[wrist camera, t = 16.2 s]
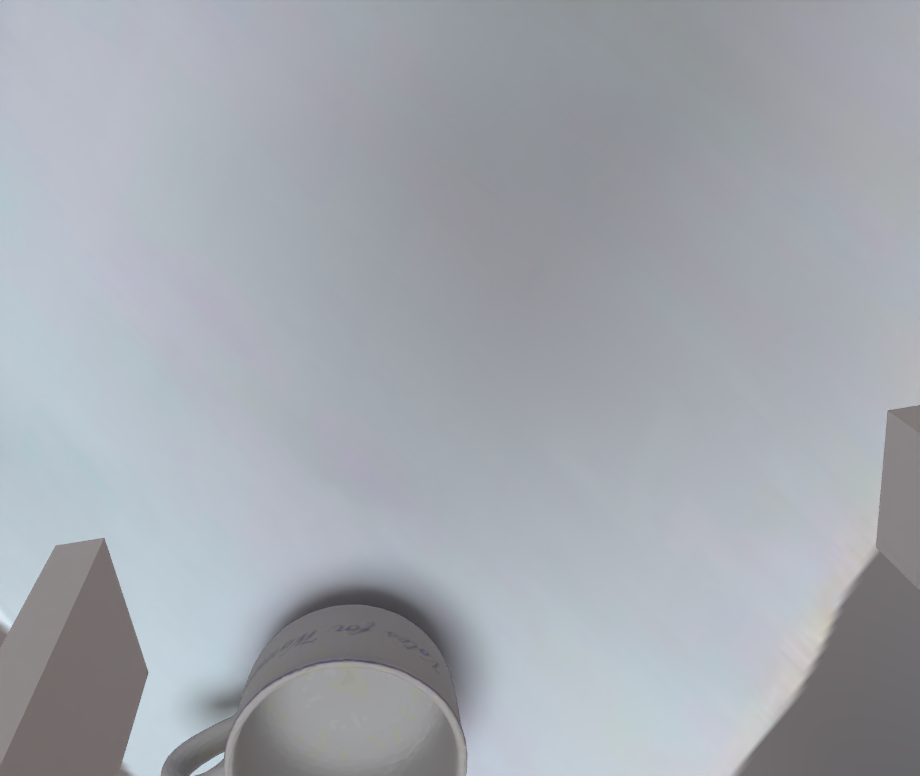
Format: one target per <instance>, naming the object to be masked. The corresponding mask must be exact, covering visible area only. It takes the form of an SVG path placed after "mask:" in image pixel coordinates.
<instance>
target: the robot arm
mask: <svg viewBox="0 0 920 776" xmlns="http://www.w3.org/2000/svg"><path fill="white" fill-rule="evenodd" d="M876 547H877V548H878V549H879V550H880V551H881V552H882V553H883V554H884V555H885V556H886V557H887V558H888V559H889V560H890V561H891V562H892V563H893V564H894V565H895V566H896V567H897V568H898V569H899V570H900V571H901V572H902V573H903V574H904V575H905V576H906V577H907V578H908V579H909V580H910V581H911V582H912V583H913V584H914V585H915V586H916V587H917V588H918V589H919V590H920V405H919V406H913V407H907V408H900V409H894V410H888V414H887V425H886V437H885V448H884V460H883V471H882V483H881V494H880V506H879V517H878V529H877V540H876ZM147 676H148V670H147V667H146V664H145V661H144V658H143V655H142V651H141V648H140V645H139V642H138V639H137V636H136V633H135V630H134V627H133V624H132V621H131V618H130V615H129V612H128V609H127V606H126V603H125V600H124V597H123V594H122V590H121V587H120V584H119V581H118V578H117V575H116V572H115V569H114V566H113V563H112V560H111V557H110V554H109V551H108V548H107V545H106V542H105V539H104V538H101V539H94V540H88V541H82V542H76V543H70V544H64V545H58V546H55V548H54V550H53V552H52V553H51V555H50V557H49V559H48V561H47V563H46V564H45V566H44V568H43V570H42V572H41V574H40V576H39V577H38V579H37V581H36V583H35V585H34V587H33V588H32V590H31V592H30V594H29V596H28V598H27V600H26V601H25V603H24V605H23V607H22V609H21V611H20V612H19V614H18V616H17V618H16V620H15V622H14V624H13V625H12V627H11V629H10V631H9V633H8V635H7V637H6V639H5V640H4V642H3V644H2V646H1V648H0V776H118V774H119V770H120V767H121V763H122V760H123V757H124V753H125V750H126V747H127V743H128V740H129V736H130V733H131V730H132V726H133V723H134V720H135V716H136V713H137V709H138V706H139V703H140V699H141V696H142V693H143V689H144V686H145V682H146V679H147Z"/></svg>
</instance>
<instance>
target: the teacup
mask: <svg viewBox="0 0 920 776" xmlns="http://www.w3.org/2000/svg"><path fill="white" fill-rule="evenodd" d="M223 752H225V754H224V759H223V760H222V761H221V762H220V763H218V764H217V765H216V766H215V767H213V768H211V769H210V770H208V771H207V772H205V773H202V774H200V775H196V776H466V772H467V749H466V741H465V737H464V733H463V730H462V727H461V724H460V716H459V710H458V704H457V698H456V693H455V689H454V685H453V681H452V677H451V674H450V671H449V669H448V666H447V664H446V662H445V660H444V658H443V656H442V654H441V652H440V651H439V649H438V648H437V646H436V645H435V644H434V643H433V641H432V640H431V639H430V637H429V636H428V635H427V634H426V633H424V632H423V631H422V630H421V629H420V628H419V627H418V626H416V625H415V624H413V623H412V622H411V621H409V620H407V619H406V618H404V617H402V616H400V615H398V614H396V613H394V612H391V611H388V610H385V609H382V608H378V607H373V606H368V605H339V606H331V607H327V608H323V609H320V610H316V611H313V612H311V613H309V614H307V615H304V616H302V617H300V618H298V619H297V620H295V621H293V622H292V623H290V624H289V625H287V626H286V627H285V628H284V629H282V630H281V631H280V632H279V633H278V634H277V635H276V636H275V637H274V638H273V639H272V640H271V641H270V642H269V643H268V644H267V646H266V647H265V648H264V650H263V651H262V652H261V654H260V655H259V657H258V659H257V661H256V662H255V664H254V666H253V668H252V670H251V673H250V675H249V678H248V680H247V683H246V685H245V688H244V691H243V695H242V698H241V701H240V705H239V709H238V712H237V713H236V714H235V715H233V716H232V717H230V718H228V719H226V720H224V721H221V722H219V723H217V724H215V725H213V726H212V727H210V728H208V729H206V730H204V731H202V732H200V733H198V734H196V735H195V736H193V737H191V738H190V739H188V740H187V741H185V742H184V743H182V744H181V745H180V746H179V747H178V748H176V749H175V750H174V751H173V752H172V753H171V754H170V755H169V756H168V758H167V759H166V761H165V763H164V765H163V767H162V771H161V776H189V775H190V774H191V773H192V772H194V771H195V770H196V769H197V768H198V767H200V766H201V765H202V764H204V763H206V762H207V761H209V760H210V759H212V758H214V757H215V756H217V755H219V754H221V753H223Z"/></svg>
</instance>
